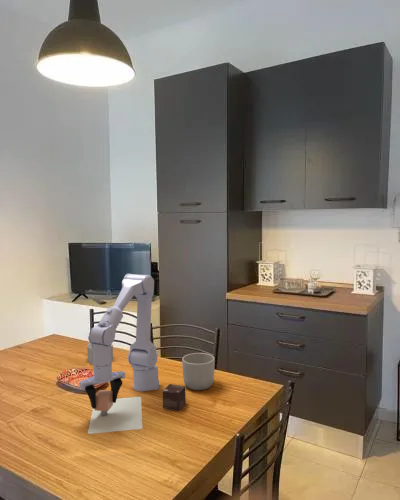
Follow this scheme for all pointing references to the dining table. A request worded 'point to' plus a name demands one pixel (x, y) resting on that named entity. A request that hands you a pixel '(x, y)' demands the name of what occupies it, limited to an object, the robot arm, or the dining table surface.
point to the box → (174, 397)
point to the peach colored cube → (104, 400)
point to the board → (118, 417)
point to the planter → (198, 370)
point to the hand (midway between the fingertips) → (103, 404)
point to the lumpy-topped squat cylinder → (90, 353)
